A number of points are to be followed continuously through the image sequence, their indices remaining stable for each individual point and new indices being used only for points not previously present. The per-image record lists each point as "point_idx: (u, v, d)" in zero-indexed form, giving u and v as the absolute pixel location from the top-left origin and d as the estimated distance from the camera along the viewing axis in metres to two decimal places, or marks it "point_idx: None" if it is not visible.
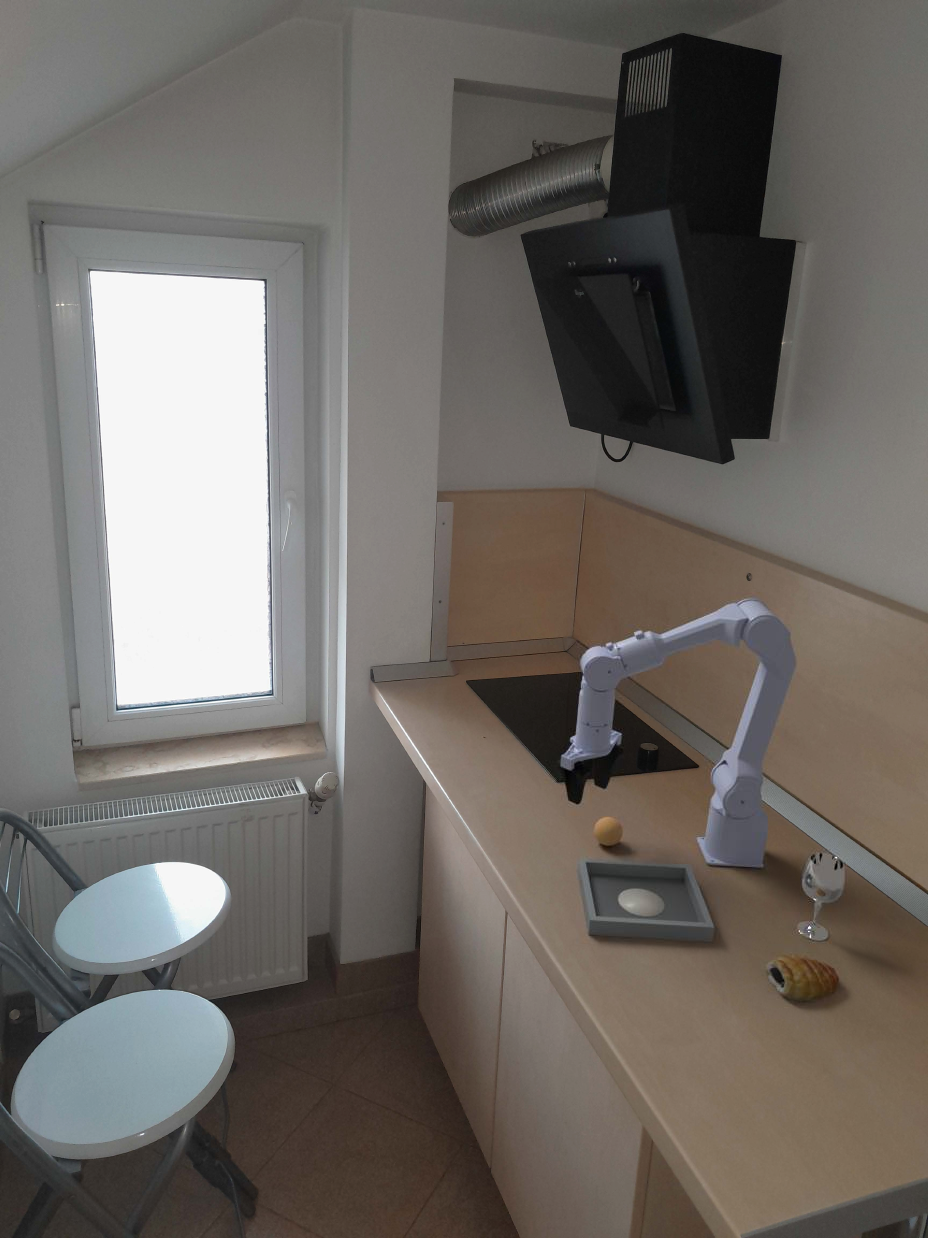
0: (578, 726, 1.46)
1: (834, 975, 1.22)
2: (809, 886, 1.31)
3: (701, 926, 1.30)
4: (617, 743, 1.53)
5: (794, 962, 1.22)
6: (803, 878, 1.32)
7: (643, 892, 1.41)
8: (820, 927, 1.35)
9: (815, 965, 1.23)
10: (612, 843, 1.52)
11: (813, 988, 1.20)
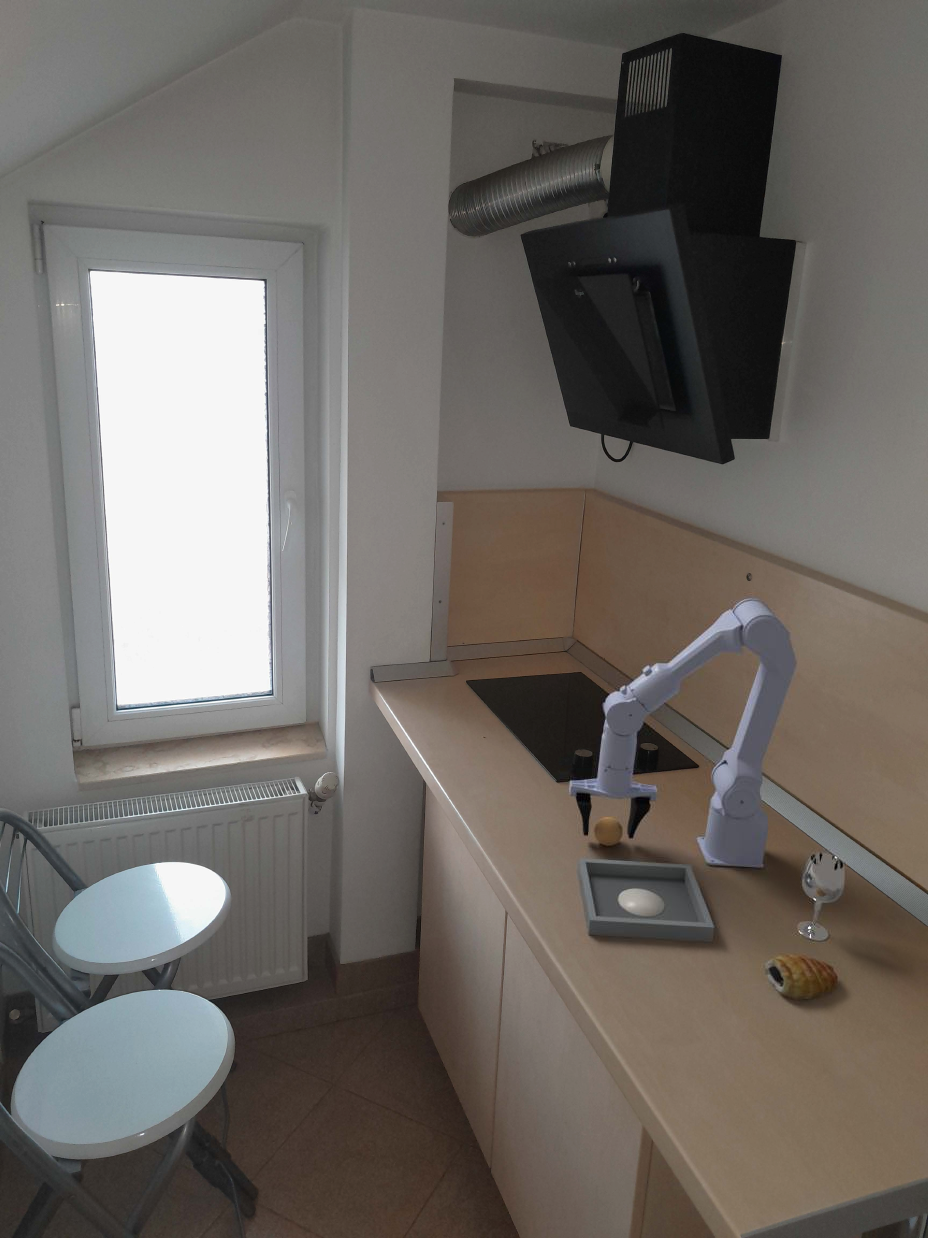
0: None
1: (833, 973, 1.23)
2: (809, 886, 1.31)
3: (701, 926, 1.30)
4: (650, 799, 1.51)
5: (793, 961, 1.23)
6: (803, 878, 1.32)
7: (643, 892, 1.41)
8: (820, 927, 1.35)
9: (814, 963, 1.23)
10: (612, 843, 1.52)
11: (812, 986, 1.20)
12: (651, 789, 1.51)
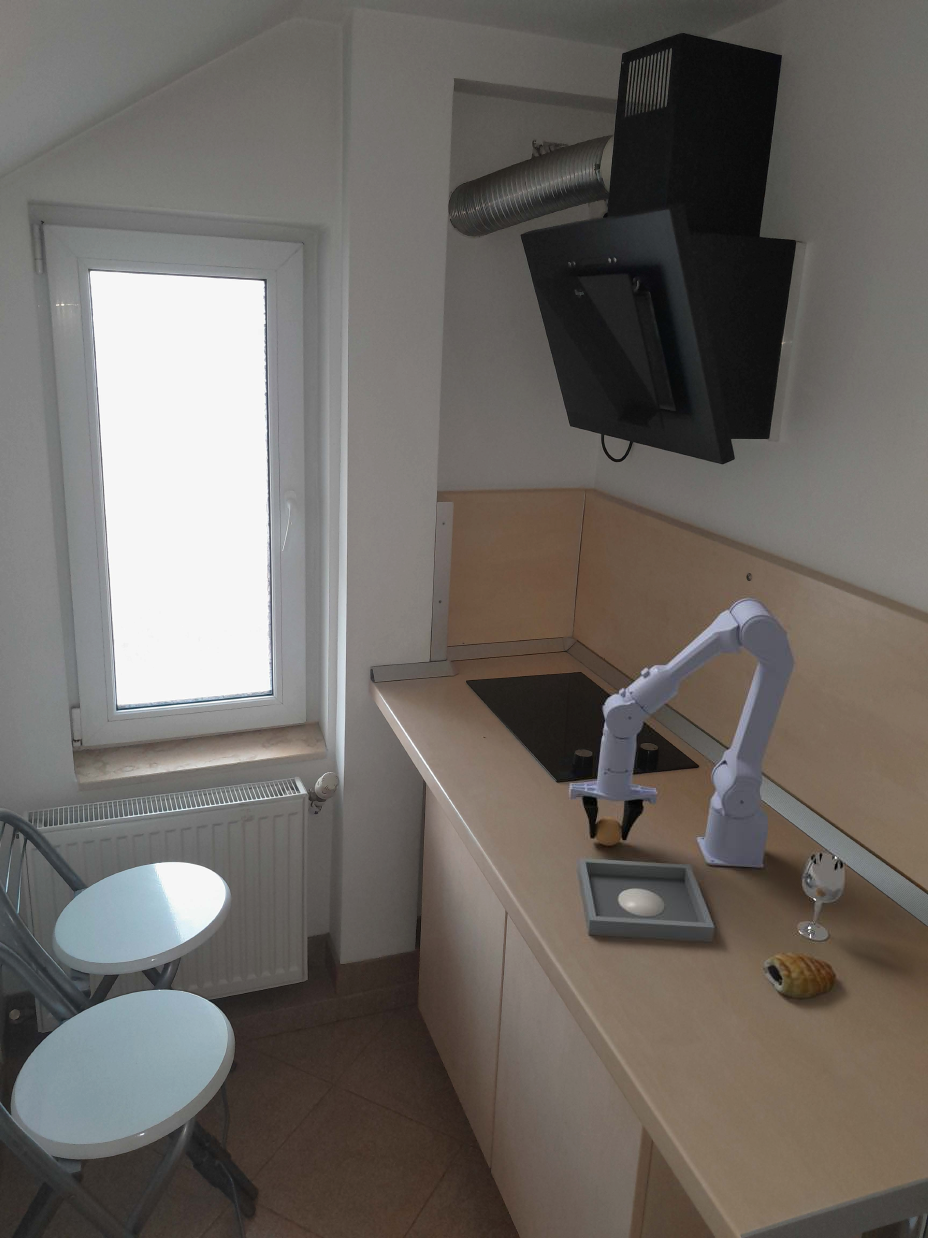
0: None
1: (831, 972, 1.23)
2: (809, 886, 1.31)
3: (701, 926, 1.30)
4: (650, 801, 1.51)
5: (791, 959, 1.23)
6: (803, 878, 1.32)
7: (643, 892, 1.41)
8: (820, 927, 1.35)
9: (812, 962, 1.23)
10: (612, 843, 1.52)
11: (811, 985, 1.20)
12: (651, 791, 1.51)
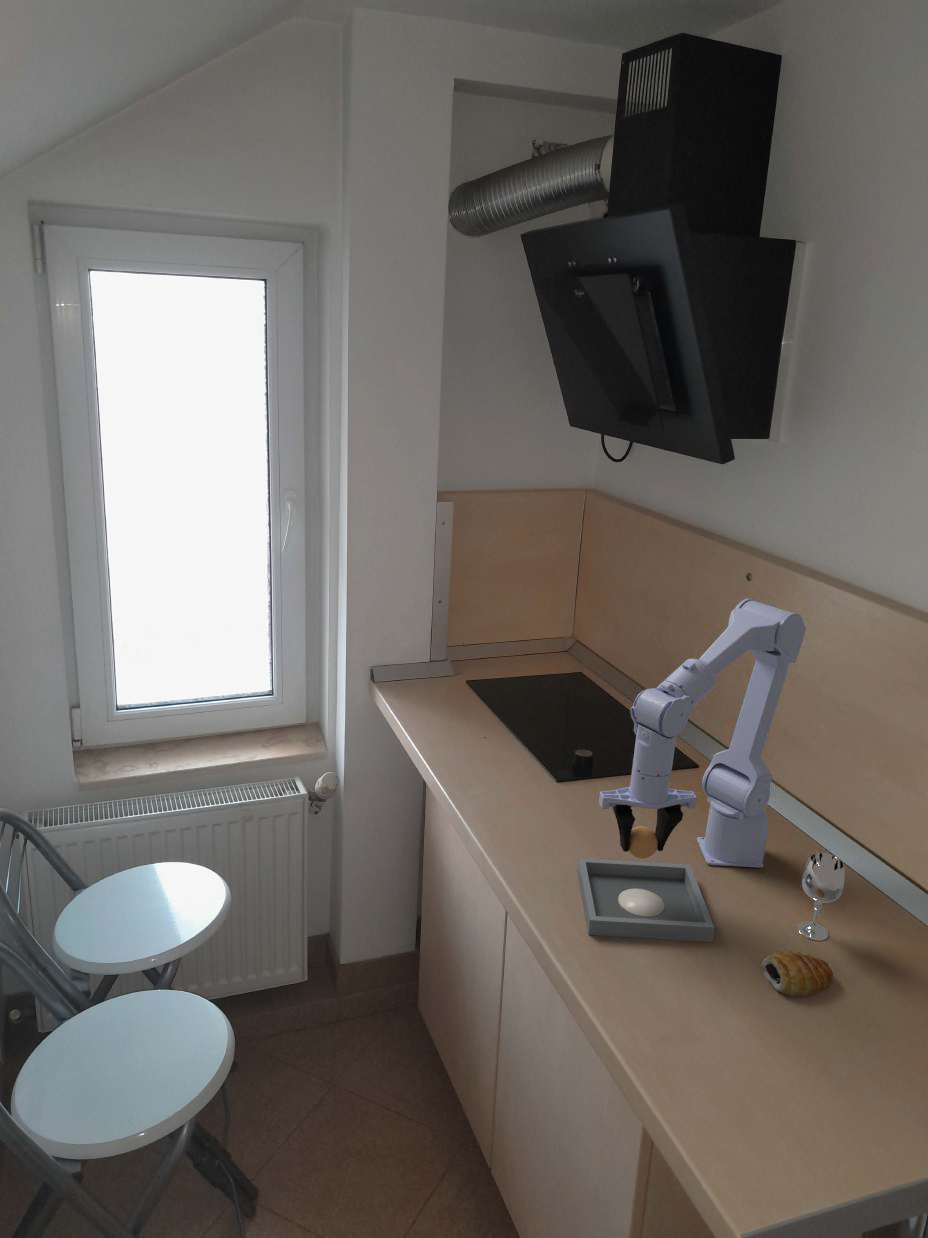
0: None
1: (828, 970, 1.23)
2: (809, 886, 1.31)
3: (701, 926, 1.30)
4: (689, 806, 1.36)
5: (789, 958, 1.23)
6: (803, 878, 1.32)
7: (643, 892, 1.41)
8: (819, 927, 1.35)
9: (809, 960, 1.24)
10: (648, 855, 1.36)
11: (809, 983, 1.21)
12: (689, 795, 1.36)
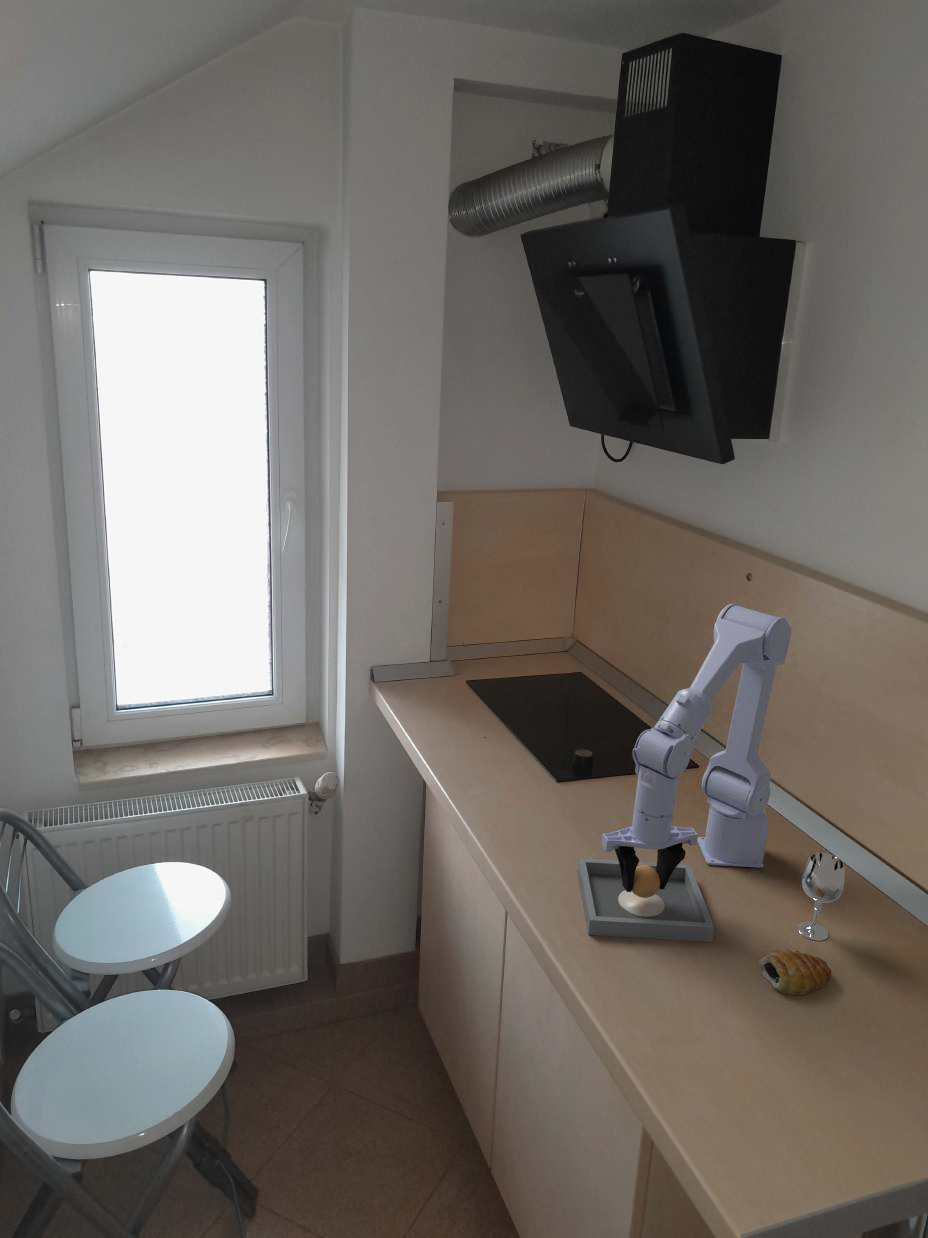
0: None
1: (826, 968, 1.24)
2: (809, 886, 1.31)
3: (701, 926, 1.30)
4: (690, 843, 1.36)
5: (787, 957, 1.23)
6: (803, 878, 1.32)
7: None
8: (820, 927, 1.35)
9: (808, 959, 1.24)
10: (652, 895, 1.36)
11: (807, 982, 1.21)
12: (690, 832, 1.36)
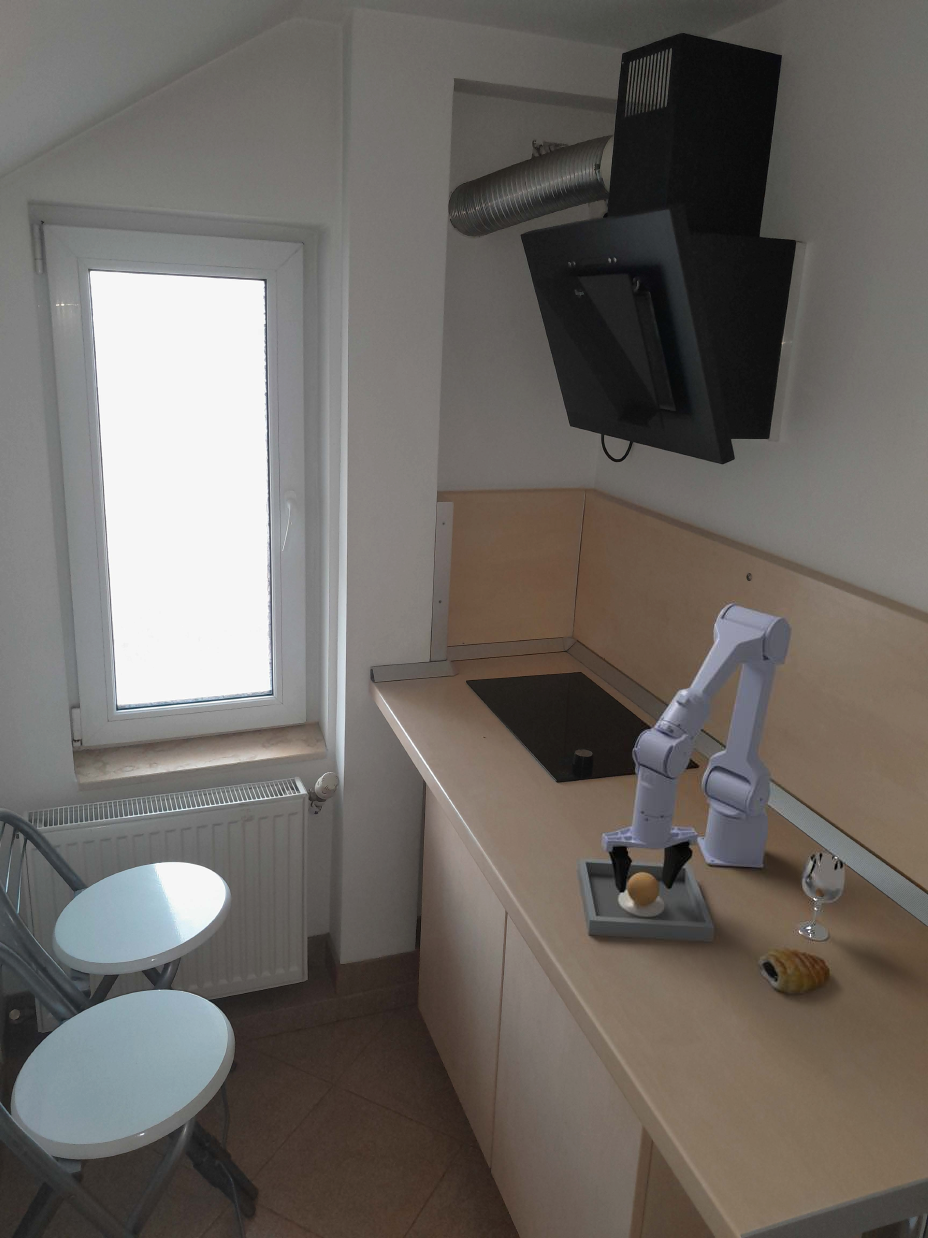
0: None
1: (825, 967, 1.24)
2: (809, 886, 1.31)
3: (701, 926, 1.30)
4: (690, 843, 1.36)
5: (786, 956, 1.24)
6: (803, 878, 1.32)
7: None
8: (819, 927, 1.35)
9: (806, 957, 1.24)
10: (651, 902, 1.36)
11: (806, 980, 1.21)
12: (690, 832, 1.36)
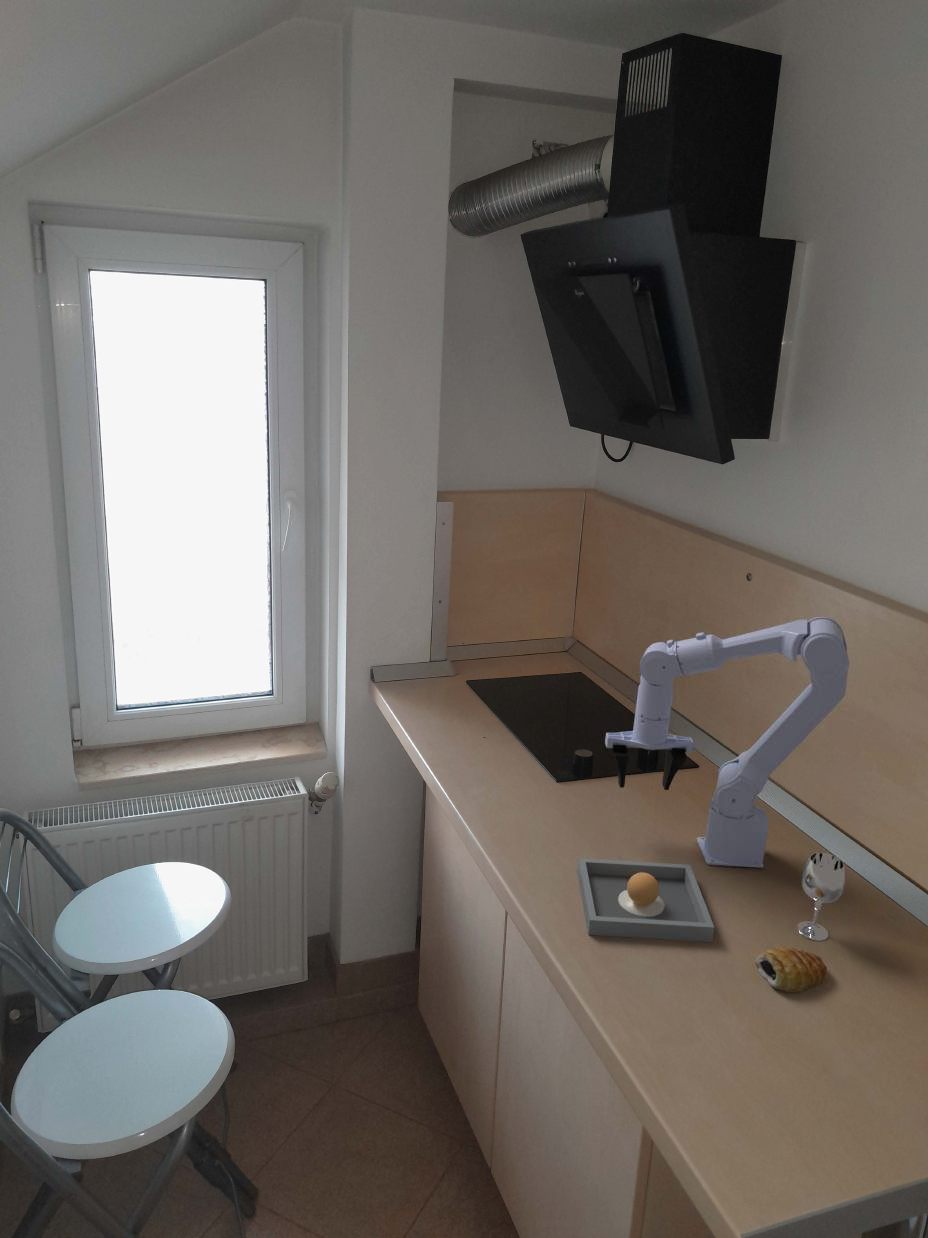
0: None
1: (822, 964, 1.24)
2: (809, 886, 1.31)
3: (701, 926, 1.30)
4: (686, 750, 1.52)
5: (783, 954, 1.24)
6: (803, 878, 1.32)
7: None
8: (819, 927, 1.35)
9: (803, 955, 1.25)
10: (651, 902, 1.36)
11: (804, 978, 1.21)
12: (687, 740, 1.52)
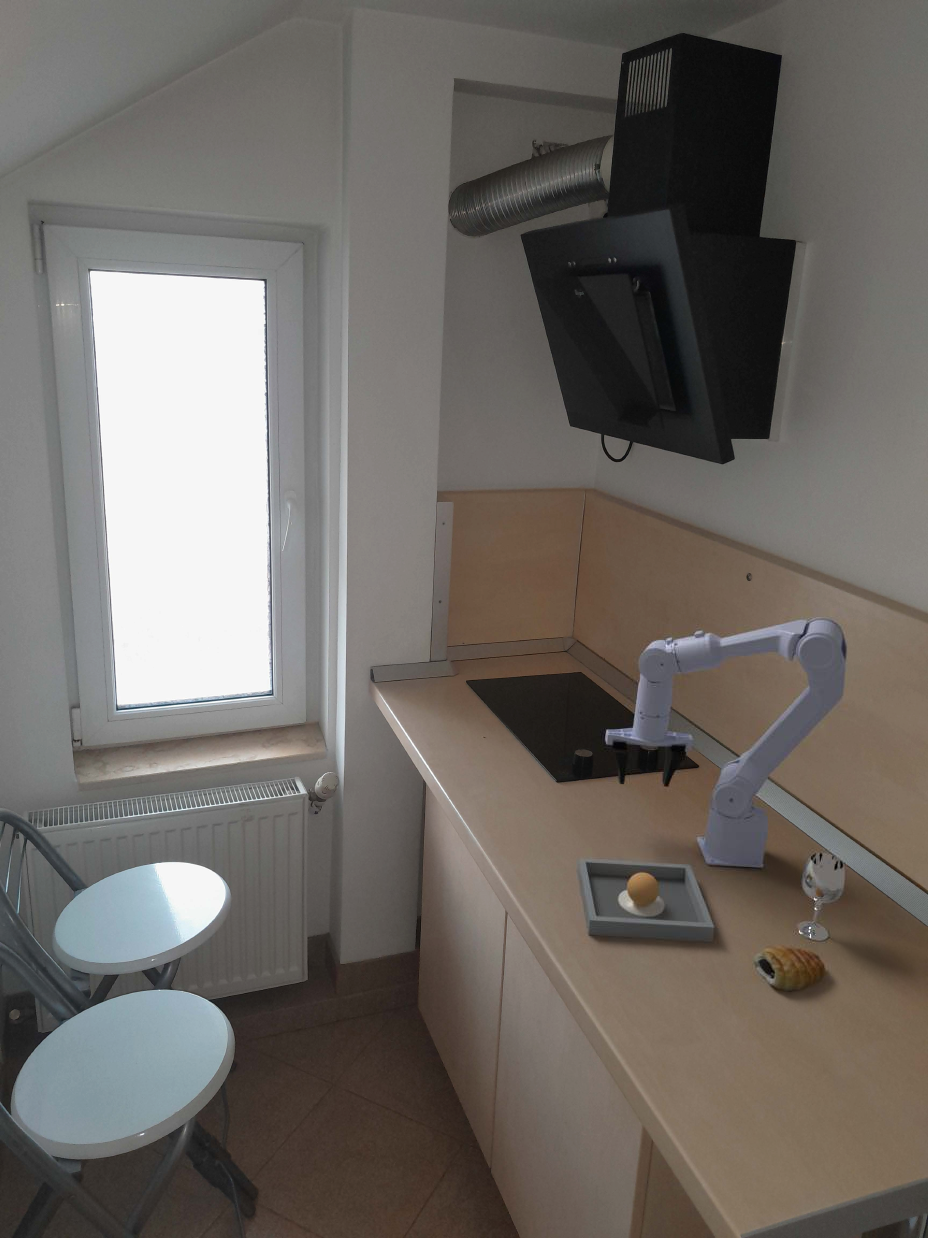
0: None
1: (820, 962, 1.25)
2: (809, 886, 1.31)
3: (701, 926, 1.30)
4: (686, 747, 1.53)
5: (782, 952, 1.24)
6: (803, 878, 1.32)
7: None
8: (820, 927, 1.35)
9: (801, 954, 1.25)
10: (650, 902, 1.36)
11: (802, 977, 1.22)
12: (686, 737, 1.54)
